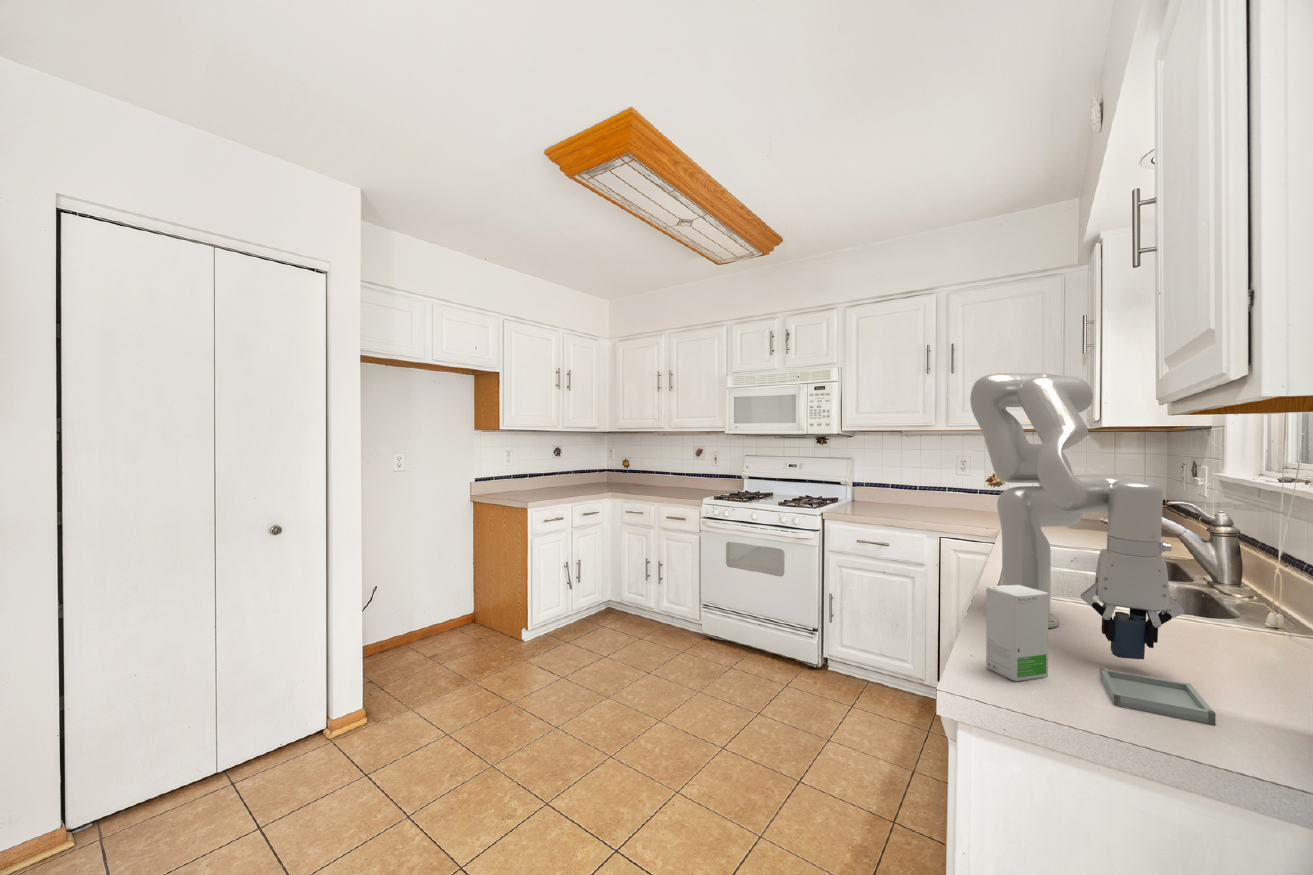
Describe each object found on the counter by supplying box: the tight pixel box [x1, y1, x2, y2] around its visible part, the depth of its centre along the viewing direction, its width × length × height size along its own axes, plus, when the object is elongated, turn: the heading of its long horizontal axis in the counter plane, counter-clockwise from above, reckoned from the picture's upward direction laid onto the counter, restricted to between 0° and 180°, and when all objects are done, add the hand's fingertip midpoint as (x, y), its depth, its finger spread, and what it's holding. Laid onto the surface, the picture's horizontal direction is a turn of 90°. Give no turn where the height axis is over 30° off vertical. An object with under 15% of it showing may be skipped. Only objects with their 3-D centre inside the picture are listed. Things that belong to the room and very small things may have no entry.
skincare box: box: [985, 584, 1049, 682], centre depth 100 cm, size 8×7×16 cm
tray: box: [1099, 668, 1217, 726], centre depth 90 cm, size 11×12×2 cm
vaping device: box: [1110, 608, 1147, 660], centre depth 101 cm, size 3×5×12 cm, turn 78°
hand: (1128, 640), depth 101 cm, fingers closed on vaping device, 5 cm apart
